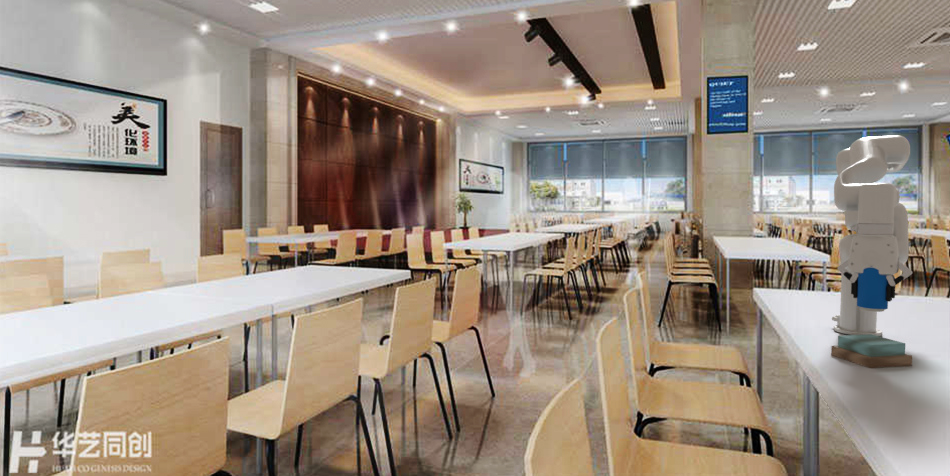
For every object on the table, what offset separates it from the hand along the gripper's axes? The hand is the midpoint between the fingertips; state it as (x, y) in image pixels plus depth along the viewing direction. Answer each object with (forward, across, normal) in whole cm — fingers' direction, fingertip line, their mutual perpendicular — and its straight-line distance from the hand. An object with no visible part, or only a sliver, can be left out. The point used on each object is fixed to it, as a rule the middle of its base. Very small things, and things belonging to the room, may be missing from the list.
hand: (872, 298), depth 138 cm
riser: (+16, 0, 0) cm, 16 cm away
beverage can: (+3, 0, 0) cm, 3 cm away
